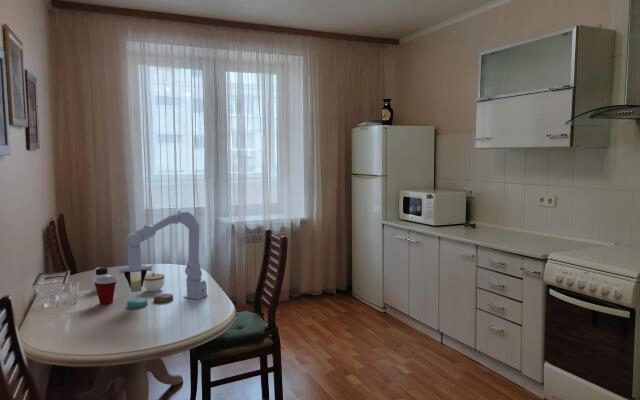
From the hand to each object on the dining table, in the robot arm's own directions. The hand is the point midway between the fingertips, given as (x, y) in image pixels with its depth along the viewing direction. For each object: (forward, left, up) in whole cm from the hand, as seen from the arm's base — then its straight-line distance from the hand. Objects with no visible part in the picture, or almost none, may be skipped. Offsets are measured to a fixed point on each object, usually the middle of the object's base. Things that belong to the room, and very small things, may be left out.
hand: (136, 286), depth 224 cm
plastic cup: (+17, +3, -9) cm, 20 cm away
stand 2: (-6, -11, -9) cm, 16 cm away
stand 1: (0, 0, -9) cm, 9 cm away
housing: (0, 0, -1) cm, 1 cm away
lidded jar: (+11, -22, -9) cm, 26 cm away
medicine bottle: (+38, -12, -9) cm, 41 cm away
